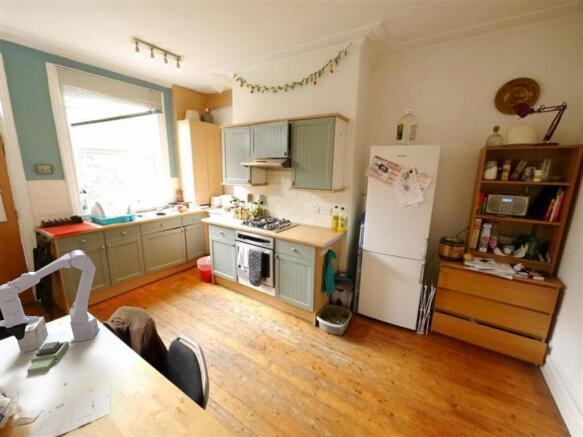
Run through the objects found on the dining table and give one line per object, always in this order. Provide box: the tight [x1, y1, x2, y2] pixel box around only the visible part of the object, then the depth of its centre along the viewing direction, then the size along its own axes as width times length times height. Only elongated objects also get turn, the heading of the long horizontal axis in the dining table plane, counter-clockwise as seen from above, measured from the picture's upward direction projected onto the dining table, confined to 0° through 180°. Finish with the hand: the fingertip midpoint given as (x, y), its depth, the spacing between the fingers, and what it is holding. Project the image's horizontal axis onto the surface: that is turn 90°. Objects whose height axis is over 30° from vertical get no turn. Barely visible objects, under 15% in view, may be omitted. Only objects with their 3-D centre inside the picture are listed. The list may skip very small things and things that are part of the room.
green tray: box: [26, 340, 70, 375], centre depth 110 cm, size 10×14×3 cm
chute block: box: [35, 340, 62, 357], centre depth 112 cm, size 7×5×6 cm
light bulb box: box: [16, 316, 49, 353], centre depth 118 cm, size 11×7×11 cm, turn 26°
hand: (21, 338), depth 108 cm, fingers closed
